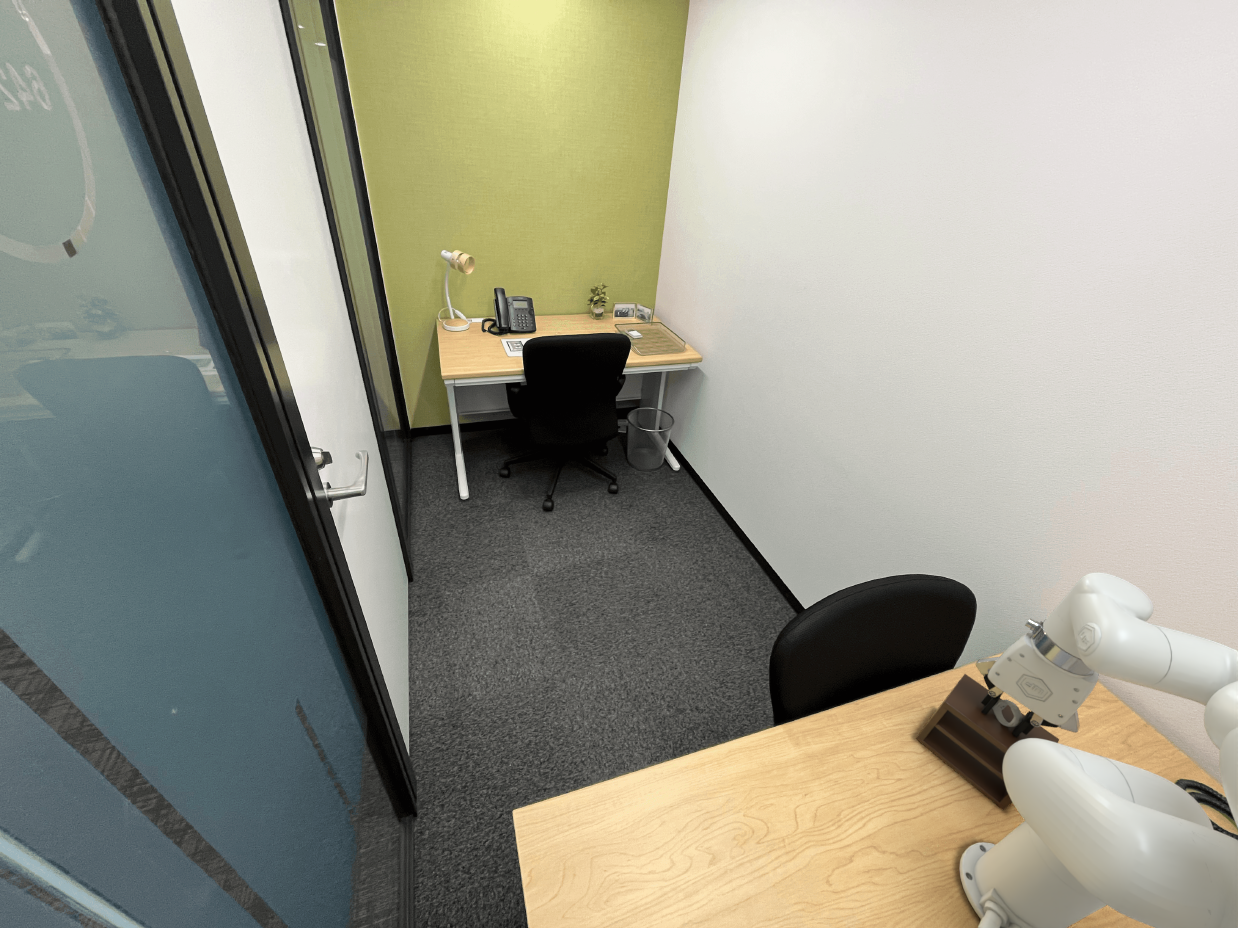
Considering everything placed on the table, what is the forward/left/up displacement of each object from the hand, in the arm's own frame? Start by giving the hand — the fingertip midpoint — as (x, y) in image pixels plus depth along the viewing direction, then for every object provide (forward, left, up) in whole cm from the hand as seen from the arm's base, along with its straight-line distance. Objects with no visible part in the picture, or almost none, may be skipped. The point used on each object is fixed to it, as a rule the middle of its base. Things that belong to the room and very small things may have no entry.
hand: (1001, 718), depth 80 cm
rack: (0, 0, -12) cm, 12 cm away
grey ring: (0, 0, 0) cm, 0 cm away
